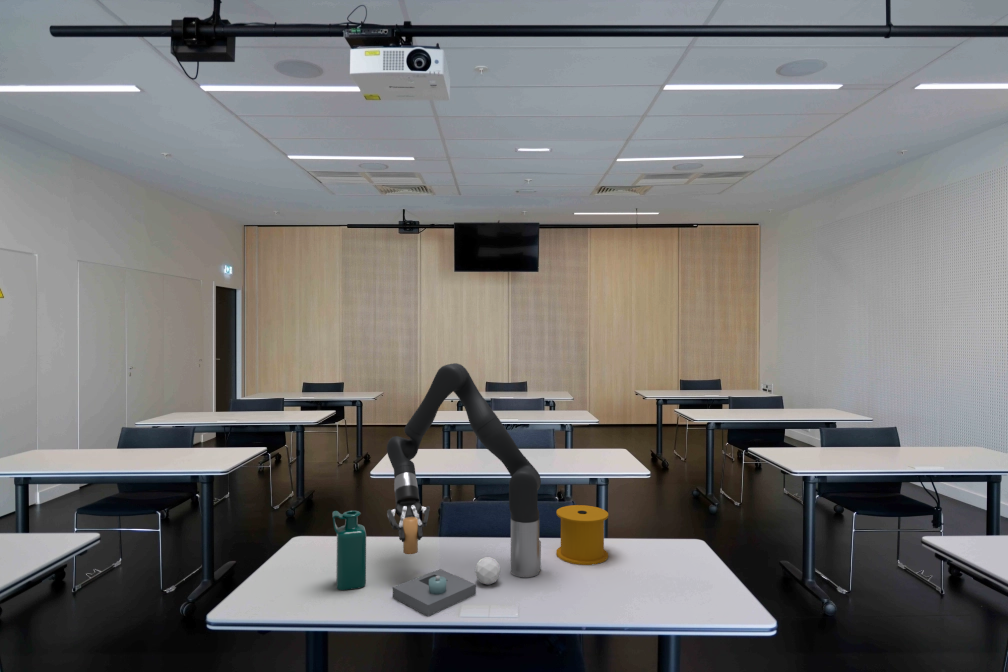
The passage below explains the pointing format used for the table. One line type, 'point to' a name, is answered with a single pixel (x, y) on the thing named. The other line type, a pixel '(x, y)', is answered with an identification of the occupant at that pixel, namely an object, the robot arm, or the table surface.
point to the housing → (434, 591)
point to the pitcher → (350, 552)
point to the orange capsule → (410, 535)
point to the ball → (487, 570)
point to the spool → (582, 534)
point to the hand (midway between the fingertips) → (411, 539)
